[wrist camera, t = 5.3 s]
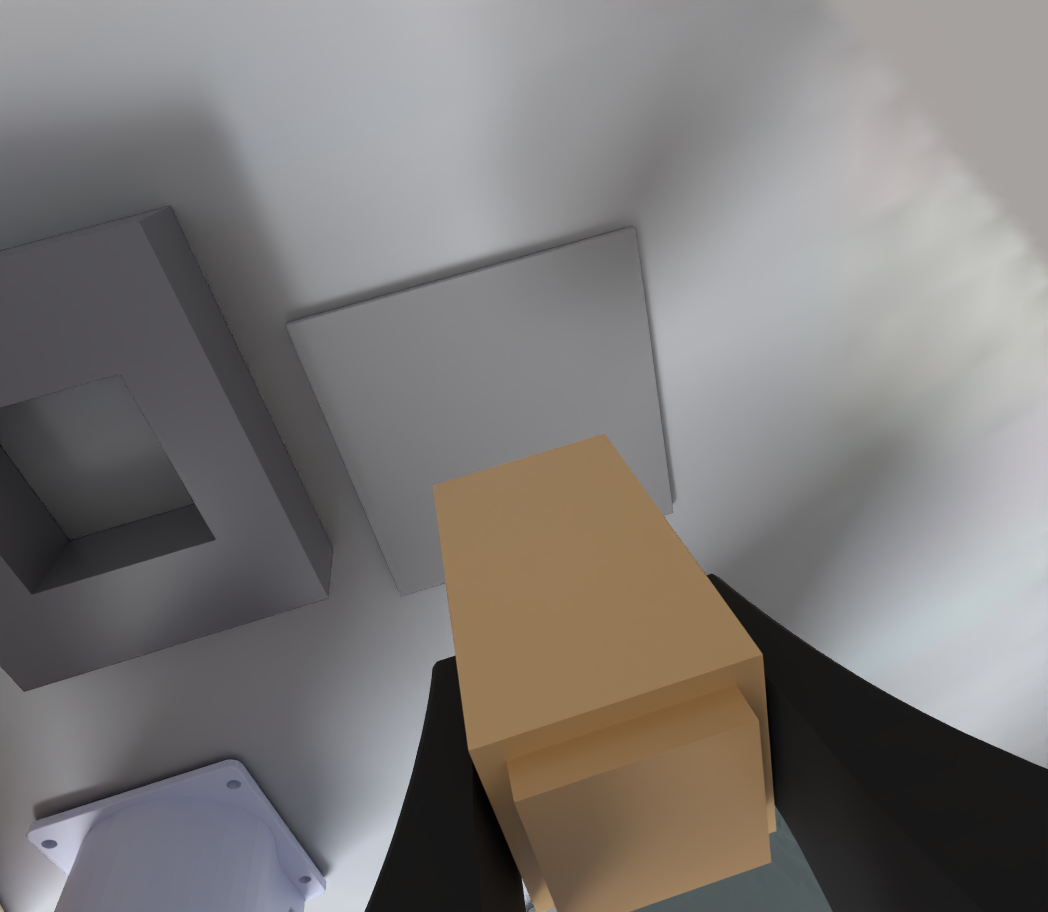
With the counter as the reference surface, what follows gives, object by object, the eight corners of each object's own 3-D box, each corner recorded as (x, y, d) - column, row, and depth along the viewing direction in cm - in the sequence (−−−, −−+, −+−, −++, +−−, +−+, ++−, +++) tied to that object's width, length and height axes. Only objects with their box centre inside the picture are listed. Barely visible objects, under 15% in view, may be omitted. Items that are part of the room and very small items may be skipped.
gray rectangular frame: (332, 548, 22) (328, 598, 20) (59, 631, 21) (24, 691, 19) (170, 205, 16) (138, 221, 14) (-205, 304, 16) (-298, 337, 13)
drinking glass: (489, 798, 29) (551, 1179, 19) (568, 625, 25) (701, 986, 15) (682, 806, 33) (825, 1135, 22) (779, 653, 29) (1009, 967, 18)
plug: (631, 570, 17) (797, 868, 10) (479, 617, 16) (545, 956, 10) (604, 433, 15) (787, 688, 8) (432, 485, 14) (473, 792, 8)
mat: (670, 508, 24) (673, 512, 23) (400, 591, 23) (401, 596, 23) (632, 225, 19) (635, 228, 18) (286, 322, 18) (285, 325, 18)
